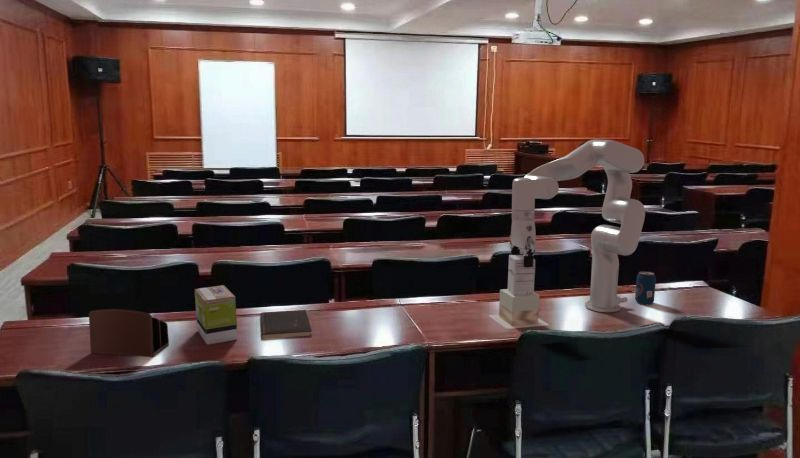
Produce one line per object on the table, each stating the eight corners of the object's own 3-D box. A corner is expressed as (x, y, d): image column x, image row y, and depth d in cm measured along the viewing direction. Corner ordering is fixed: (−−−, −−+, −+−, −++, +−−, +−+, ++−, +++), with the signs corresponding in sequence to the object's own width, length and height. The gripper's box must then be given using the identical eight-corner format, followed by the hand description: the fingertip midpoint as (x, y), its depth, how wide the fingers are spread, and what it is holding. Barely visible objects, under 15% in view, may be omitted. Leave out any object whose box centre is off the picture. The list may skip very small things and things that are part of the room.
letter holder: (153, 357, 181) (150, 311, 179) (90, 354, 184) (86, 308, 181) (169, 345, 191) (166, 301, 189) (109, 342, 194) (106, 299, 191)
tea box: (196, 331, 204) (193, 287, 202) (226, 326, 209) (224, 284, 207) (206, 345, 191) (203, 299, 189) (238, 340, 196) (236, 295, 194)
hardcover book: (305, 315, 223) (305, 309, 223) (311, 337, 201) (311, 330, 200) (260, 318, 219) (260, 312, 219) (261, 340, 197) (261, 333, 197)
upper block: (525, 301, 220) (525, 287, 219) (538, 309, 211) (539, 295, 210) (499, 303, 217) (500, 289, 217) (512, 311, 208) (512, 297, 207)
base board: (528, 314, 224) (528, 312, 224) (549, 327, 210) (549, 325, 210) (488, 318, 220) (488, 315, 220) (506, 331, 206) (506, 328, 206)
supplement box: (507, 289, 216) (508, 254, 214) (527, 289, 217) (529, 254, 215) (513, 295, 209) (514, 259, 207) (534, 295, 210) (535, 258, 208)
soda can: (631, 300, 243) (633, 270, 241) (648, 300, 244) (650, 270, 242) (640, 305, 237) (642, 275, 235) (657, 305, 237) (659, 274, 235)
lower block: (524, 314, 221) (525, 301, 220) (538, 323, 212) (538, 309, 211) (499, 316, 218) (499, 303, 217) (511, 325, 209) (512, 311, 208)
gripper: (545, 217, 201) (543, 268, 204) (521, 210, 218) (520, 257, 221) (524, 219, 199) (523, 270, 202) (501, 211, 216) (500, 259, 219)
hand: (521, 263), depth 212 cm, fingers open, 9 cm apart
